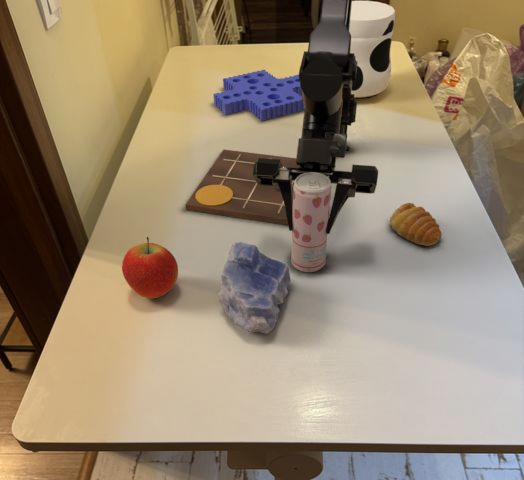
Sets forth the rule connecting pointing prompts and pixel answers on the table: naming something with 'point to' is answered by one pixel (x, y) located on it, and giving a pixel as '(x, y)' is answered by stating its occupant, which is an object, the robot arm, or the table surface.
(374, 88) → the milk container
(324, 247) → the beverage can
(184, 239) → the table surface
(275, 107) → the building block
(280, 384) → the table surface
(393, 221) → the pastry
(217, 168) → the board
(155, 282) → the apple
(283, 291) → the mineral
